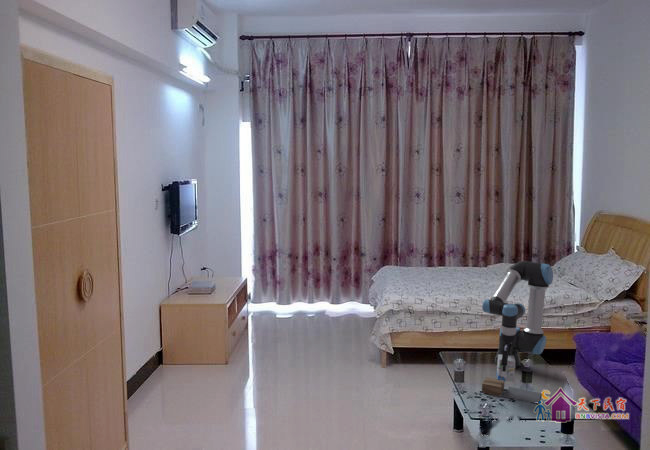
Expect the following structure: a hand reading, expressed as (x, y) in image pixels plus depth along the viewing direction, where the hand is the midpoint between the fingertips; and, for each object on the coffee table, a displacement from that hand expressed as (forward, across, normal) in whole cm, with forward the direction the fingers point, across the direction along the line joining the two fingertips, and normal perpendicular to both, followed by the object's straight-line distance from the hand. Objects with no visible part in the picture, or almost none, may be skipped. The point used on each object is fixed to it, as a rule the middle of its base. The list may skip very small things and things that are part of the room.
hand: (505, 373), depth 313 cm
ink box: (+3, 0, 0) cm, 3 cm away
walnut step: (+12, 0, -6) cm, 13 cm away
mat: (+11, -2, +10) cm, 15 cm away
